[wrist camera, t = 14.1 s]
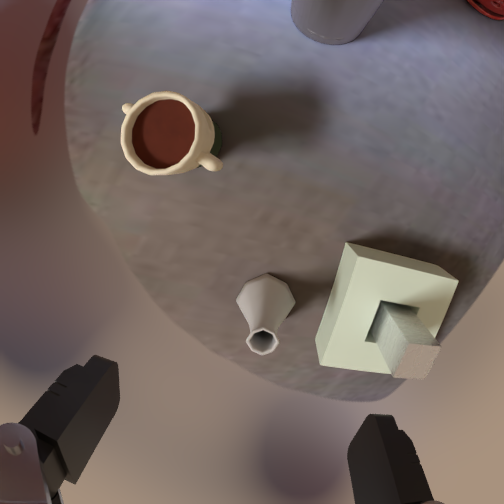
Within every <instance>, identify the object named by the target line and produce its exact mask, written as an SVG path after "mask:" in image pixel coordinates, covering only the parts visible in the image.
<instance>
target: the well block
mask: <svg viewBox="0 0 504 504" xmlns="http://www.w3.org/2000/svg"><path fill="white" fill-rule="evenodd" d="M458 282H459V281H458V280H457V279H456V278H454V277H453V276H452V275H450V274H449V273H448V272H446V271H445V270H443V269H442V268H441V267H439V266H438V265H435V264H431V263H427V262H424V261H420V260H416V259H412V258H408V257H404V256H400V255H396V254H393V253H389V252H385V251H381V250H377V249H373V248H369V247H364V246H360V245H356V244H352V243H348V242H346V244H345V247H344V251H343V254H342V257H341V261H340V264H339V268H338V271H337V274H336V277H335V281H334V284H333V287H332V290H331V293H330V297H329V300H328V303H327V306H326V309H325V312H324V315H323V318H322V321H321V324H320V327H319V330H318V332H317V335H316V338H315V342H316V347H317V352H318V357H319V362H320V365H324V366H330V367H337V368H345V369H352V370H360V371H369V372H378V373H387V374H391V372H390V370H389V368H388V366H387V364H386V362H385V360H384V358H383V356H382V354H381V352H380V350H379V348H378V346H377V344H376V342H375V340H374V338H373V336H372V334H371V332H370V330H369V329H370V326H371V324H372V321H373V319H374V316H375V314H376V311H377V308H378V306H379V303H380V300H383V301H388V302H394V303H399V304H404V305H408V306H409V307H410V308H411V309H412V311H413V312H414V313H415V314H416V315H417V317H418V318H419V319H420V320H421V322H422V323H423V324H424V325H425V326H426V328H427V329H428V330H429V331H430V333H431V334H432V335H433V337H434V338H435V337H436V334H437V332H438V330H439V328H440V326H441V323H442V321H443V319H444V317H445V314H446V312H447V309H448V307H449V305H450V302H451V300H452V297H453V295H454V292H455V289H456V287H457V284H458Z"/></svg>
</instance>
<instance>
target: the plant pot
mask: <svg viewBox="0 0 504 504" xmlns="http://www.w3.org/2000/svg"><path fill="white" fill-rule="evenodd" d="M467 1H468V2H469V3H470V4H471V5H472V6H473V7H474V8H475V9H476V10H478V11H479V12H480V13H482V14H484V15H485V16H487V17H489V18H492V19H495V20H503V19H504V0H467Z"/></svg>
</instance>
